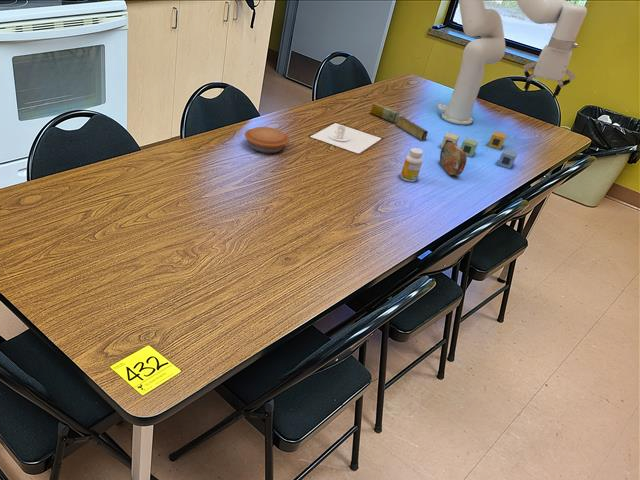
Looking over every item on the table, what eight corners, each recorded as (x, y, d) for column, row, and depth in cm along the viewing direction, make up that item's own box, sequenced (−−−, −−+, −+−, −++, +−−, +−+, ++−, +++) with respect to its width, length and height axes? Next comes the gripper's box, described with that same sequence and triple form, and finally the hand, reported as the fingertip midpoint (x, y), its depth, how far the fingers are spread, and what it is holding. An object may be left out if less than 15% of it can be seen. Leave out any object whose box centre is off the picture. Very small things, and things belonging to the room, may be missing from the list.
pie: (292, 156, 193) (294, 142, 190) (247, 155, 190) (249, 141, 187) (282, 138, 205) (284, 124, 202) (240, 136, 202) (241, 123, 199)
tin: (437, 160, 202) (444, 137, 197) (445, 160, 202) (453, 138, 197) (452, 179, 190) (461, 156, 185) (461, 180, 191) (470, 156, 186)
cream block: (440, 147, 212) (444, 135, 209) (443, 144, 215) (447, 132, 212) (452, 151, 210) (456, 139, 207) (455, 147, 213) (459, 135, 210)
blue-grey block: (497, 164, 204) (502, 152, 201) (499, 160, 207) (504, 148, 204) (510, 168, 202) (515, 156, 199) (512, 164, 206) (517, 152, 203)
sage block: (458, 153, 209) (463, 141, 206) (462, 149, 212) (466, 137, 210) (471, 157, 207) (475, 145, 205) (474, 153, 211) (478, 141, 208)
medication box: (397, 122, 229) (400, 112, 226) (393, 123, 227) (397, 113, 225) (373, 112, 235) (376, 102, 233) (369, 112, 233) (372, 102, 231)
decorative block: (425, 140, 216) (428, 131, 214) (420, 140, 215) (423, 131, 213) (400, 124, 227) (403, 116, 225) (395, 125, 226) (398, 116, 224)
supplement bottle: (400, 173, 190) (408, 145, 184) (417, 176, 190) (425, 149, 184) (399, 179, 186) (407, 151, 180) (416, 183, 185) (424, 155, 179)
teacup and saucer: (335, 131, 215) (337, 120, 212) (354, 137, 211) (356, 127, 209) (324, 137, 209) (326, 126, 206) (343, 144, 205) (346, 133, 203)
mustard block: (487, 146, 218) (492, 134, 215) (490, 142, 221) (494, 131, 218) (499, 149, 216) (504, 138, 213) (502, 146, 219) (507, 134, 216)
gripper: (586, 47, 197) (564, 96, 207) (534, 37, 201) (515, 86, 212) (587, 51, 191) (565, 102, 202) (534, 41, 196) (514, 91, 206)
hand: (539, 94), depth 207 cm, fingers open, 9 cm apart
